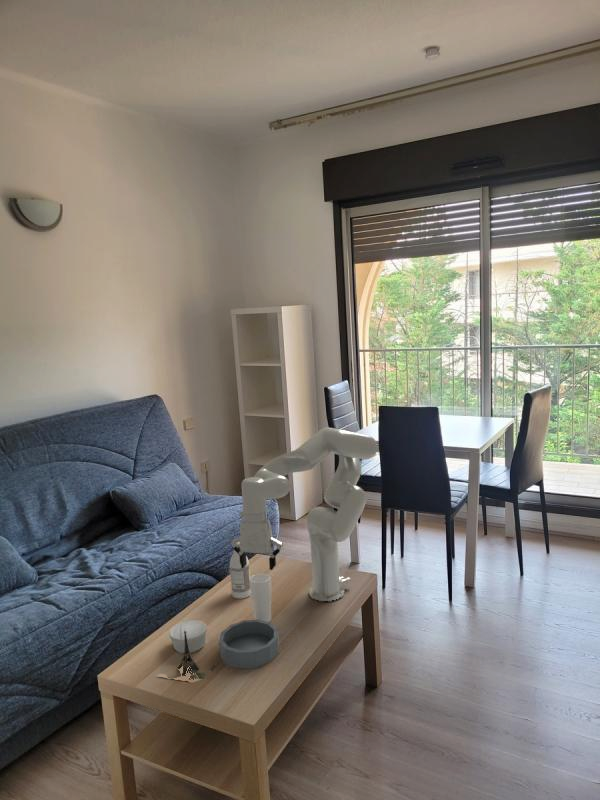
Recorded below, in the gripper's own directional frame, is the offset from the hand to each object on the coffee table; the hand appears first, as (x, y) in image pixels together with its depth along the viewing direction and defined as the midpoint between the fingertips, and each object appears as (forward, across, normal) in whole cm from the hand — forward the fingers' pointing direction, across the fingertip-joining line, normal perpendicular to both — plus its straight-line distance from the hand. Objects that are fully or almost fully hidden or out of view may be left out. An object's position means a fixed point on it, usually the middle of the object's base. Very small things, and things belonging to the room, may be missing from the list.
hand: (258, 567), depth 187 cm
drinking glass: (+19, 0, +1) cm, 19 cm away
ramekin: (+20, -18, -16) cm, 31 cm away
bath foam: (+19, -13, +17) cm, 29 cm away
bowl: (+19, +2, -16) cm, 25 cm away
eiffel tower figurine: (+20, -13, -28) cm, 37 cm away
